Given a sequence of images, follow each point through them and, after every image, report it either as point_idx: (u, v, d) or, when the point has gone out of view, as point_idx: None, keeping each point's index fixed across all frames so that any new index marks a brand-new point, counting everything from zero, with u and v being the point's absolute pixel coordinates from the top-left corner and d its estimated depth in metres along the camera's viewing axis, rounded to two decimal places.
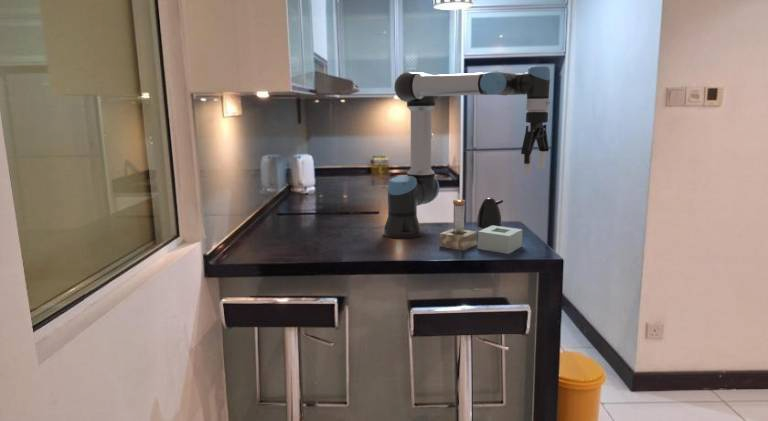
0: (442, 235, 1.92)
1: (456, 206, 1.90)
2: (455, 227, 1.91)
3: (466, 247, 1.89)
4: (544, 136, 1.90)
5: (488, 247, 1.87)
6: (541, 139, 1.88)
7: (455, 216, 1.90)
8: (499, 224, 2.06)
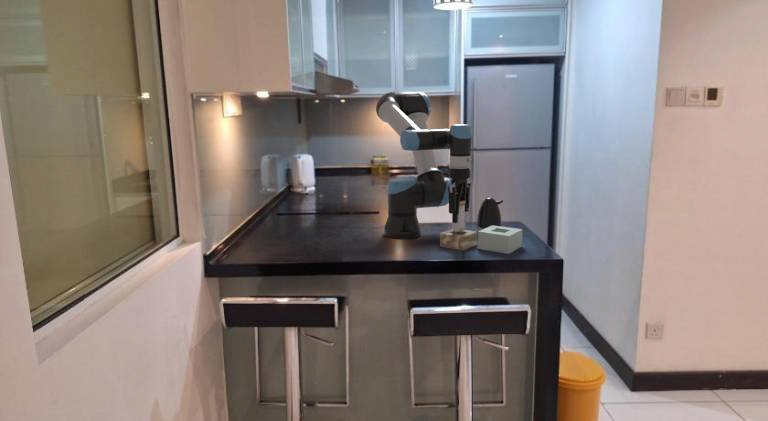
0: (442, 235, 1.92)
1: None
2: None
3: (466, 247, 1.89)
4: (467, 194, 1.94)
5: (488, 247, 1.87)
6: (463, 196, 1.91)
7: None
8: (499, 224, 2.06)
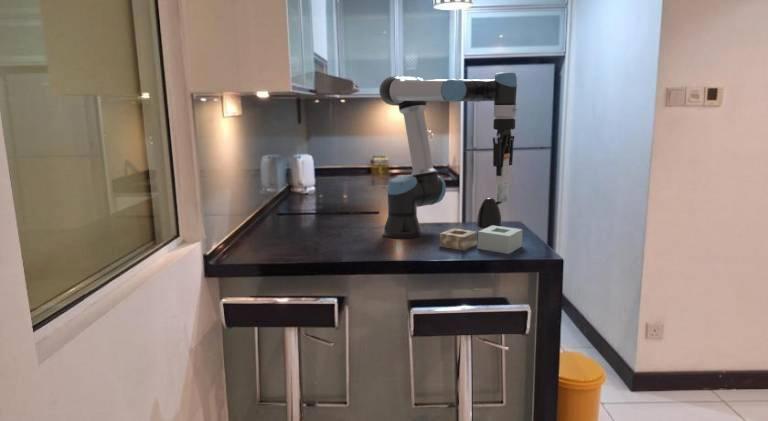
0: (442, 235, 1.92)
1: None
2: None
3: (466, 247, 1.89)
4: (510, 147, 1.87)
5: (488, 247, 1.87)
6: (507, 148, 1.84)
7: None
8: (499, 224, 2.06)
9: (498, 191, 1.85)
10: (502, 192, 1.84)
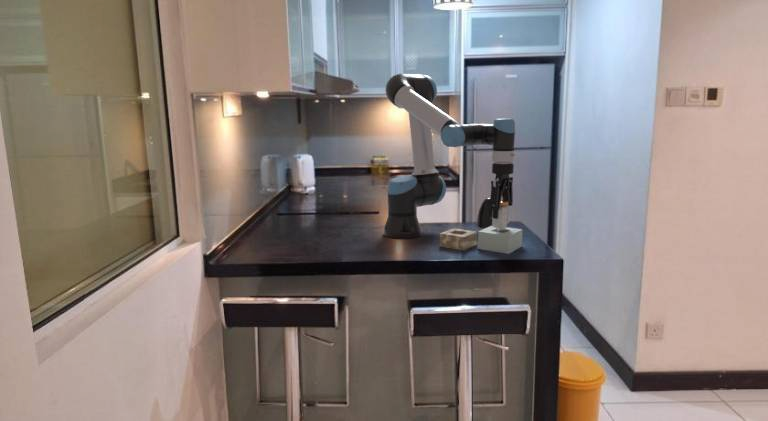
0: (442, 235, 1.92)
1: None
2: (497, 229, 1.88)
3: (466, 247, 1.89)
4: (509, 188, 1.90)
5: (488, 247, 1.87)
6: (506, 191, 1.88)
7: None
8: None
9: None
10: None
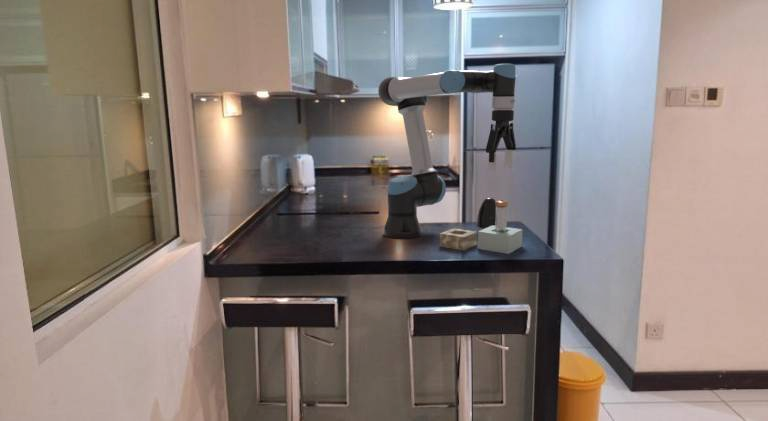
0: (442, 235, 1.92)
1: (499, 207, 1.86)
2: (497, 229, 1.88)
3: (466, 247, 1.89)
4: (511, 134, 1.88)
5: (488, 247, 1.87)
6: (507, 137, 1.86)
7: (498, 218, 1.87)
8: None
9: None
10: None
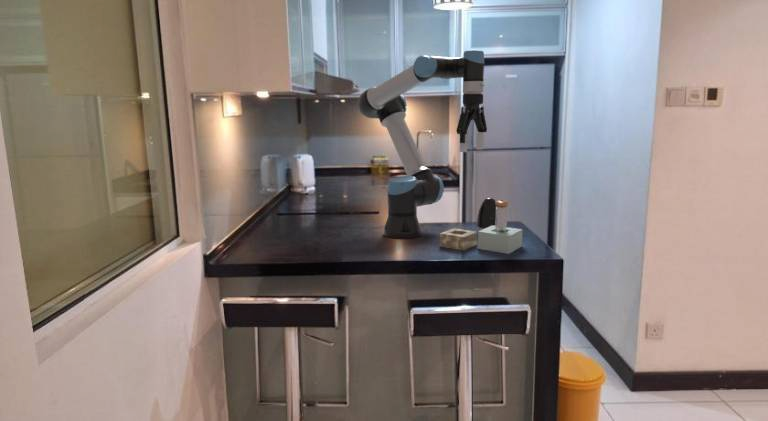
0: (442, 235, 1.92)
1: (499, 207, 1.86)
2: (497, 229, 1.88)
3: (466, 247, 1.89)
4: (482, 117, 1.99)
5: (488, 247, 1.87)
6: (478, 120, 1.97)
7: (498, 218, 1.87)
8: None
9: None
10: None
